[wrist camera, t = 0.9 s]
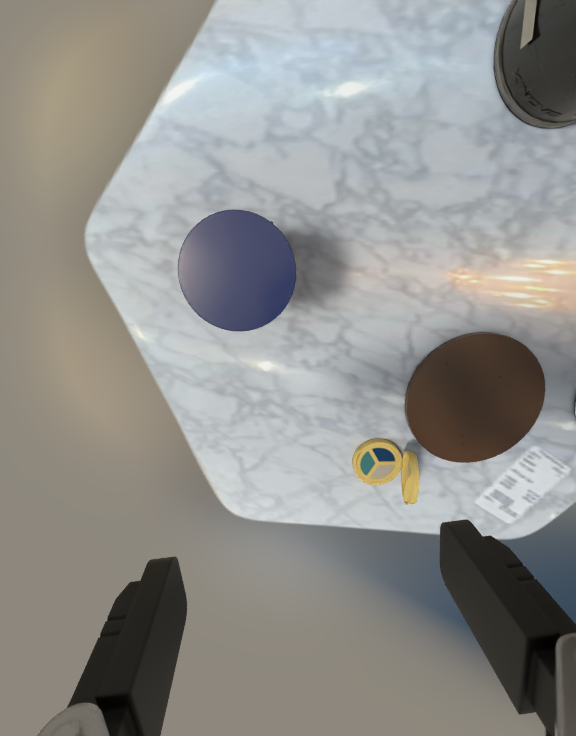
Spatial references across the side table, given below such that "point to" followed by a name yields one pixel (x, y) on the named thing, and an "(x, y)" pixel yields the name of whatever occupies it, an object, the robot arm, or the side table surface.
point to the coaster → (474, 397)
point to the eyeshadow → (387, 466)
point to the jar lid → (237, 270)
